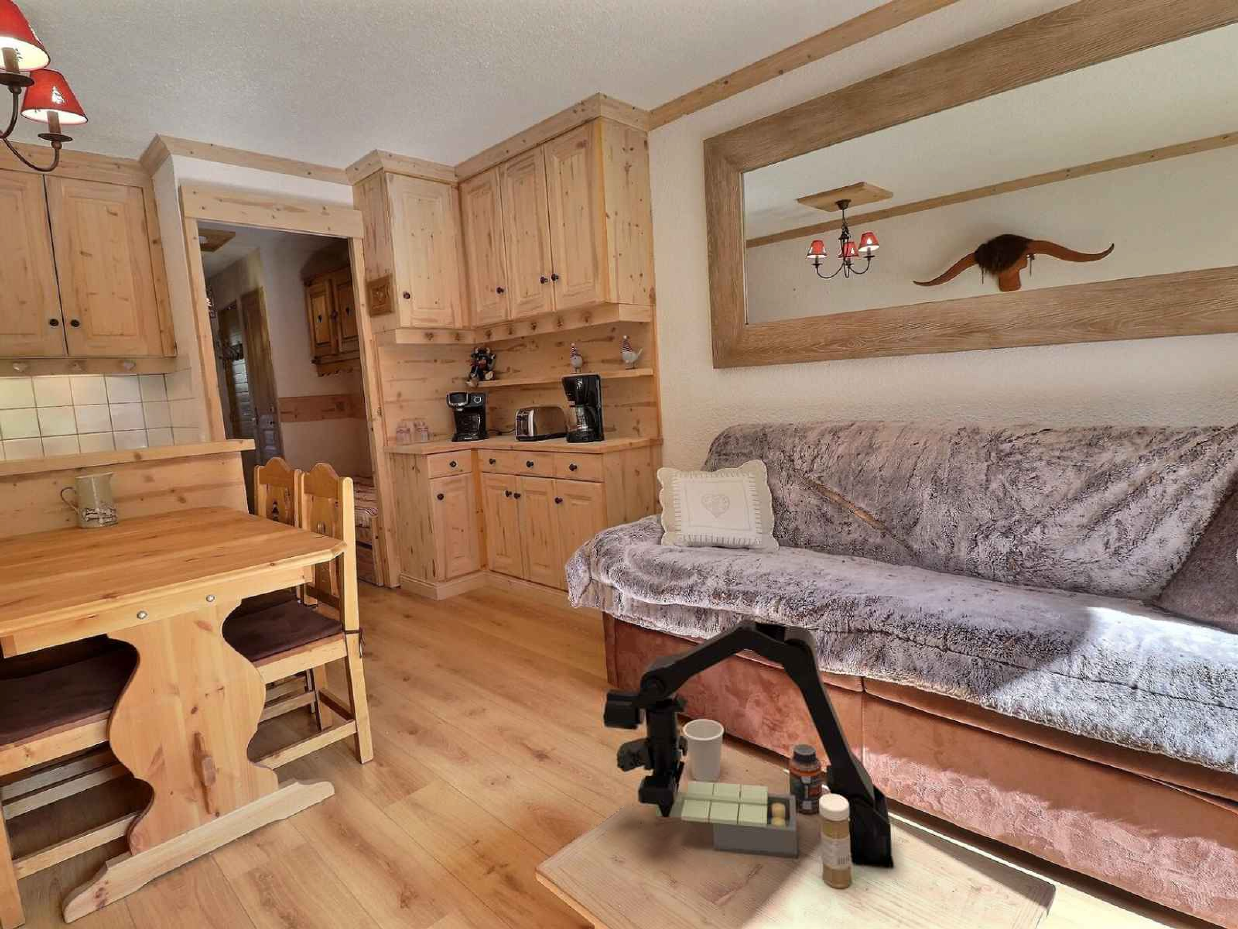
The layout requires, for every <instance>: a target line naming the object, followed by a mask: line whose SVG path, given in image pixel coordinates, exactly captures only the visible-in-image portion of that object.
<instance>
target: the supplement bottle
mask: <svg viewBox="0 0 1238 929" xmlns="http://www.w3.org/2000/svg"><path fill="white" fill-rule="evenodd" d="M816 753H817V752H816V749H815V747H814V746H813V745H810V744H806V743H800V744H799V743H798V744H796V745H794V747H793V755H792V756H791V757H790V758H789V761H788V769H789V770H788V773H789V775H788V776H789V795H795V804H796V812H799V813H803V814H806V815H807V814H810V815H811V814H815V813H818V812H820V811H819V800H820V798H821V797H822V796H823V781H822V780H823V779H822V778H823V777H822V776H823V775H822V763H821V761H820V759H819V758H818V757H817V754H816Z"/></svg>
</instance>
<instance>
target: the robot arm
mask: <svg viewBox="0 0 1238 929" xmlns="http://www.w3.org/2000/svg"><path fill="white" fill-rule="evenodd" d="M816 648H817V647H816V645H815V639H814V636H813V634H812V632H810V630H808V629H807V628H804V627H802V626H798V625H791V626H786V625H783V624H779V623H773V622H762V621H761V622H760V621H757V620H754V619H749V618H743V619H741V620H739V621H738V622H737V623H736V624H734V625H732V626H731V627H729V628H727V629H725V630H723V631H721V632H720V633H717V634H716V635H714V636H712V637H710V638H708V639H706V640H705V641H703V642H701V643H698V644H697V645H695V646H694V647H692V648H689V649H688V650H685V651H683V652H679V653H673V654H672V653H670V654H668V655H663V656H661V657H658V658H656V659H654V660H652V661H651V662H650V663H649V665H648V666H647V667H646V670H645V671H644V672H643V674H642V676H641V677H640V680H639V681H640V682H639V686H638V688H637V689H636V691H631V690H630V691H628V690H619V689H615V688H610V689H609V690H608V691H607V692H606V700H605V704H604V712H603V715H602V716H603V718H602V719H603V724H604V727H605V728H610V729H618V730H619V729H620V730H632V731H637V730H638V728H639V725H643V724H644V722H645V728H646V736H645V737H643V738H642V737H640V738H637V739H633V740H630V741H627V742H624V743H622V744H621V745H620V746H619V748H618V751H617V753H616V762H617V763H616V767H617V768H618V769H620V770H621V771H622V772H624V773H627V772H630V771H632V770H635V769H636V768H637V769H638V768H640V767H642V766H643V770H644V771H651V770H652V774H651V775H648V774H647V775H645V776H644V777H643V778H642V779H641V781H640V783H639V786H638V789H637V799H638V802H639V803H640V804H644V805H646V804H647V805H654V804H655V805H658V806H659V809H660V812H661V814H662V816H661V817H663V818H665V819H667V818H670V817H669V814H670V812H671V809H672V806H673V804H674V802H675V798H676V795H677V792H679V787H680V781H681V779H682V774H683V772H684V769H685V768H684V767H685V761H682V760H681V759H682V756H683V757H687V754H688V741H687V739H686V737H685V736H684V735H681V730H680V729H679V728H678V713H684V712H685V709H686V707H687V705H688V700H687V699H685V698H684V697H682V695H681V694H680V693H678V692H677V691H678V690H680V688H681V687H682V686H683V685H684V684H685V683H686V682H687V681H689V680H690V679H691V678H692V677H694V676H697V675H698V674H700V673H702V672H703V671H705V670H708V669H710V668H712V667H713V666H716V665H717V664H719V663H721V662H723V661H725V660H726V659H729V658H731V657H733V656H734V655H736V654H738V653H741V652H742V651H744V650H747V651H750V652H753V653H754V654H757V655H759V656H760V657H761V658H763V659H766V660H767V661H770V662H774V663H776V664H780V665H781V666H782V668H783V669H784V672H785V673H786V675H787V677H788V678H789V679H790V681H792V683H793V684H795V686H796V687H797V688H798V689H799V691H800V693H801V696H802V698H803V700H804V702H805V705H806V707H807V710H808V713H809V714H810V717H811V720H812V722H813V724H814V727H815V729H816V732H817V735H818V737H819V739H820V741H821V744H822V747H823V749H824V752H825V754H826V756H827V758H828V760H829V764H826V765H825V766H826V767H825V768H826V769H825V770H826V774H825V775H826V776H825V777H826V778H825V779H826V786H827V789H828V791H829V792H830V794H837V795H840V796H842V797H844V798H845V799H846V800H847V801H848V803H849V818H848V820H849V833H850V856H851V864H854V865H860V866H868V867H878V868H879V867H880V868H890V869H893V868H894V867H895V864H894V859H893V855H892V854H893V853H892V827H891V821H890V818H889V817H890V816H889V811H888V803H887V798H886V794H884V792H882V790H880V789H879V788H878V787H877V785H875V784H874V783H873V779H872V777H871V775H870V774H869V772H868V770H867V769H866V766H864V764H863V762H862V761H861V760H860V758H858V757H857V755H856V754H855V753H854V752H853V750H852V748H851V747H850V746H851V745H850V743H849V741H848V739H847V736H846V734H845V732H844V730H843V727H842V725H841V723H840V719H839V717H838V715H837V712H836V710H835V707H834V705H833V702H832V700H831V698H830V696H829V693H828V691H827V688H826V685H825V683H824V681H823V678H822V675H821V671H820V665H819V659H818V653H817V649H816ZM676 692H677V693H676ZM674 693H676V694H675V695H673V694H674ZM672 695H673V696H672Z"/></svg>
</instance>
